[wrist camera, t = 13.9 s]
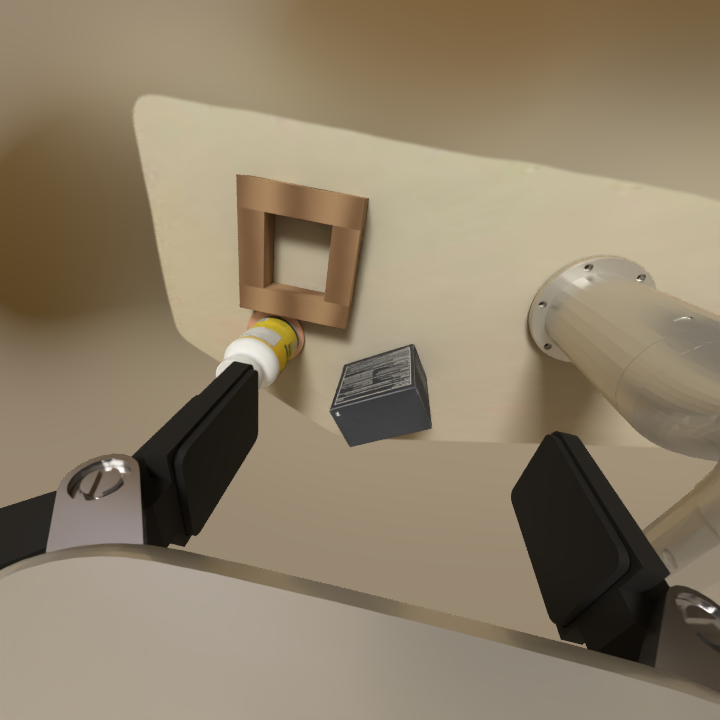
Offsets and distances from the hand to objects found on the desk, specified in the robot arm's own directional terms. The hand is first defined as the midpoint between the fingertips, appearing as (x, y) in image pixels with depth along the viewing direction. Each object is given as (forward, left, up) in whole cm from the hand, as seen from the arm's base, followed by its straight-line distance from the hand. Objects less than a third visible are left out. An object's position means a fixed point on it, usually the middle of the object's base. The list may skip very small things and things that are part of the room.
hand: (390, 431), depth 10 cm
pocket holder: (+12, +2, -30) cm, 33 cm away
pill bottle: (+15, +13, -30) cm, 36 cm away
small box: (-1, +16, -31) cm, 35 cm away
